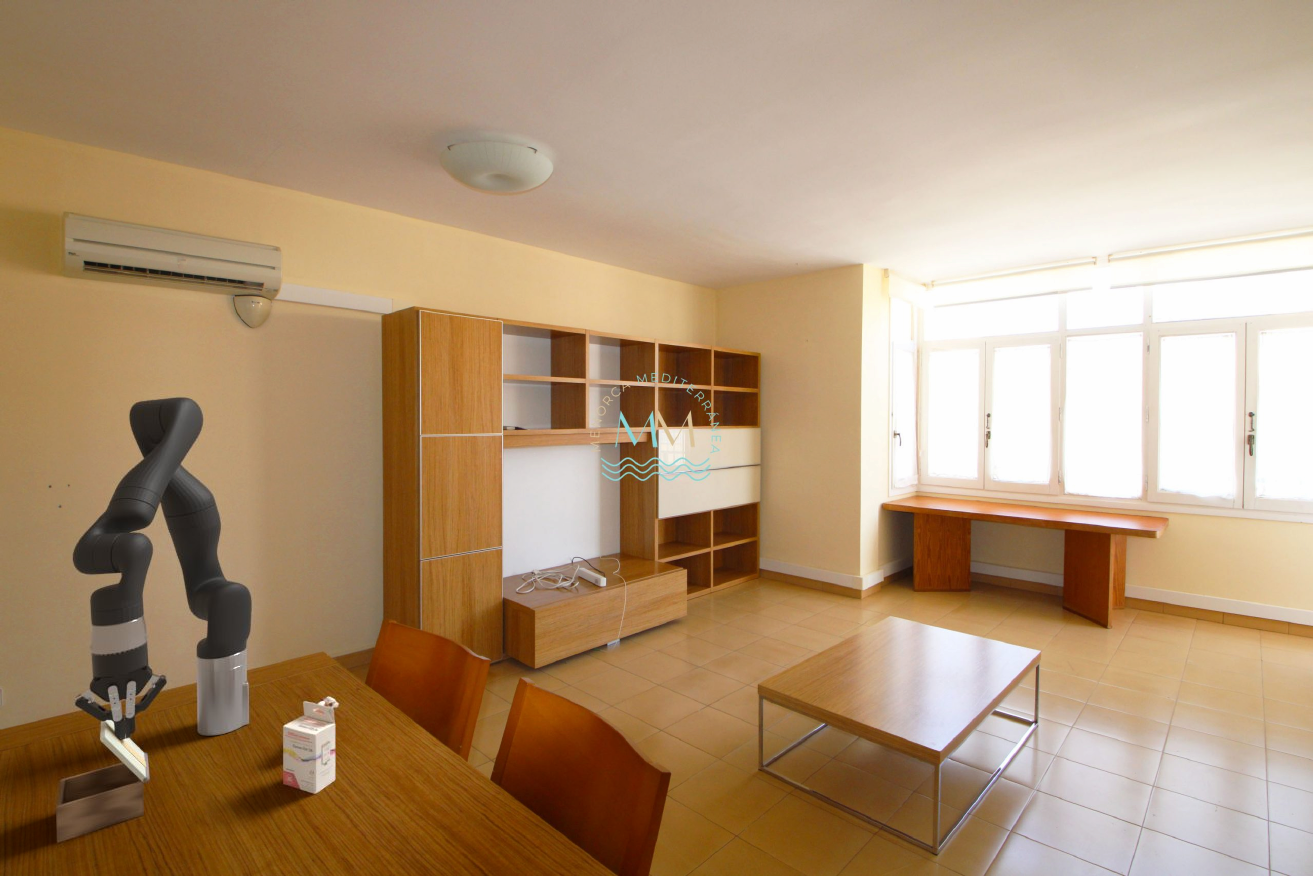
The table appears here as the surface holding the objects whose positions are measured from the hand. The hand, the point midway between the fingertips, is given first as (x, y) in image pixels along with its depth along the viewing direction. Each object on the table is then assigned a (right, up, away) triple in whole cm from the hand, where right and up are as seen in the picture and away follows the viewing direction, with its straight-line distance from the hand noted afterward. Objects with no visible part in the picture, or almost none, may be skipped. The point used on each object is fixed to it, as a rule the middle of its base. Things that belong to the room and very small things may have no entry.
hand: (125, 737), depth 110 cm
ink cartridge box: (+29, -13, +8) cm, 33 cm away
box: (-3, -13, -2) cm, 13 cm away
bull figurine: (+22, -13, +22) cm, 33 cm away
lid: (0, -2, 0) cm, 2 cm away
